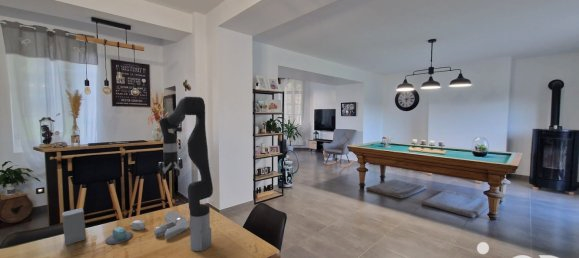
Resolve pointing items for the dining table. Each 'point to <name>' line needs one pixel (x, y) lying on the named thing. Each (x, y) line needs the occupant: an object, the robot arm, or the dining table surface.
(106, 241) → the slate coaster
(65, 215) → the skincare box
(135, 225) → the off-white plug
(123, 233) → the teal plug
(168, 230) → the chrome faucet
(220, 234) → the dining table surface
